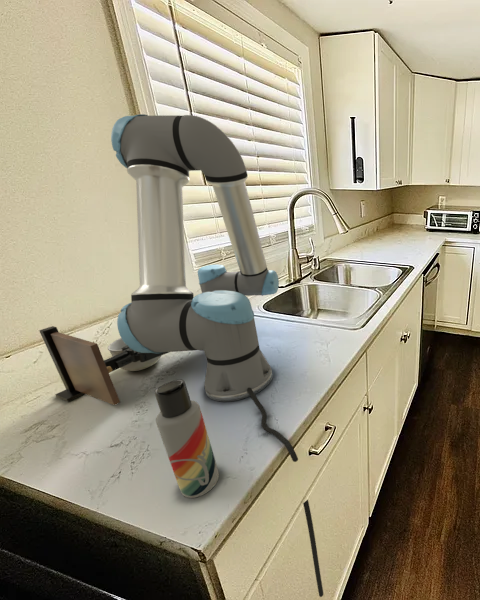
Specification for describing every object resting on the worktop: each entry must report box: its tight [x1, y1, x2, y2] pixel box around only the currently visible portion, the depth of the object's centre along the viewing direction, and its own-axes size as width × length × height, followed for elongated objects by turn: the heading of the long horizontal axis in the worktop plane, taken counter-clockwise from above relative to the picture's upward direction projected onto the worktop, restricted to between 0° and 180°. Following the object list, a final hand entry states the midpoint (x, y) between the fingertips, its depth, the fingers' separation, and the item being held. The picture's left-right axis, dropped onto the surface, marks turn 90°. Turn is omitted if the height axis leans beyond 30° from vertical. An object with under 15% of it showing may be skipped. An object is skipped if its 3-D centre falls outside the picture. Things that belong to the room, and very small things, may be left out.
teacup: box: [107, 337, 162, 372], centre depth 90 cm, size 14×11×8 cm
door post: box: [38, 325, 85, 403], centre depth 76 cm, size 5×6×17 cm
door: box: [51, 331, 121, 406], centre depth 73 cm, size 15×2×15 cm, turn 68°
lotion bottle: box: [154, 379, 220, 499], centre depth 51 cm, size 6×6×20 cm
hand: (96, 371), depth 74 cm, fingers closed
